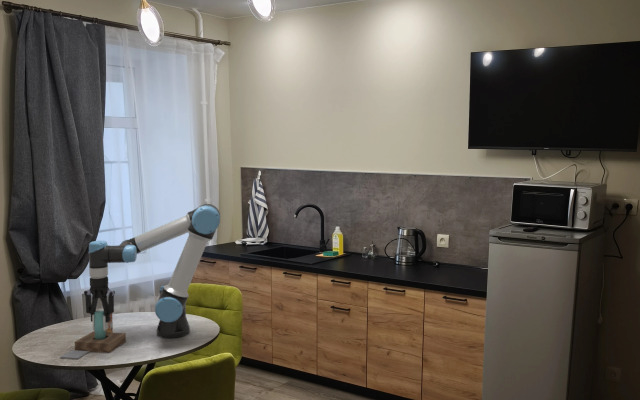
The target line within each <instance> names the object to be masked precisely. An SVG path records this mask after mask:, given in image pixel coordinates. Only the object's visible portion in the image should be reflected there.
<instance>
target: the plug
mask: <svg viewBox="0 0 640 400" xmlns="http://www.w3.org/2000/svg"><path fill="white" fill-rule="evenodd" d="M103 315H105V314H104V310H96V312H95V339H99V340H104V339H105V338H106V330H103Z"/></svg>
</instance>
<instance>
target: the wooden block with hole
mask: <svg viewBox="0 0 640 400" xmlns="http://www.w3.org/2000/svg"><path fill="white" fill-rule="evenodd" d="M125 343H127V333H125V332H113V333H112V332H106V338H105V339H104V340H99V339H95V332H94V331H91V332H89V333H87V334H85V336H84V335H83V337H81V338H79V339H77V340H76V341H74V350H76V351H89V353H105V354H110V353H112V352H114V351H115V350H116V349H117V348H119V347H120V346H122V345H124V344H125Z"/></svg>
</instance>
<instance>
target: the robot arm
mask: <svg viewBox="0 0 640 400" xmlns="http://www.w3.org/2000/svg"><path fill="white" fill-rule="evenodd" d="M220 214H221V213H220V210H219V209H218V207H216V206H215V205H214V204H210V203H204V204H201V205H199V206H198V207H196V208H195V209H193V210H191V211H188V212H187V213H186V215H184V216H182V217H180V218H177V219H175V220H173V221H172V220H171V221H170V222H168V223H165V224H162V225H160V226H157V227H155V228H153V229H151V230H148V231H146V232H144V233H142V234H138V235H137V236H134V237H132V238H130V239H125V240H123V241H122V242H120V244H119V245H108V242H107V241H106V240H95V241H91V242H90V243H89V244H88V252H87V253H88V264H89V266H88V268H89V269H88V270H89V273H88V274H89V277H90V278H89V289H86V290H84V291H83V294H84V297H85V312H86V314H90V322H92V331H94V330H95V312H96V311H97V308H98V301H99V299H100V301H101V304H102V305H101V306H102V311H104V314H105V315H103V330H107V329H108V322H109V321H110V314H112V315H113V313H115V298H114V297H115V293H116V291H115V290H110V288H109V276H108V275H109V265H108V264H115V263H117V264H119V263H122V264H124V263H125V264H128V263H135V262H136V260H137V255H138V254H140V253H142V252H145V251H147V250H149V249H152V248H154V247H156V246H159V245H161V244H163V243H166V242H169V241H170V240H174V239H176V238H178V237H181V236H182V235H185V234H188V237H187V239H186V241H185V244H184V246H183V247H182V248H183V249H182V251H181V253H180V256H179V258H178V261H177V263H176V266H175V268H174V270H173V272H172V275H171V278H170V280H169V281H168V284H164V285H160V286H159V297H158V300H157V302H156V303H155V306H154V314H155V315H156V317H157V318H158V319H159V322H158V324H157V328H156V336H157V337H160V338H163V339H176V338H181V337H184V336H187V335H189V334H190V333H191V332H190V331H191V327H190V324H189V320H188V317H187V316H186V315H187V312H186V311H187V307H186V303H187V300H188V298H189V296H190V295H189V293H188V289H189V286H190V284H191V282H192V279H193V277H194V275H195V273H196V270H197V268H198V266H199V263H200V261H201V258H202V256H203V254H204V251H205V248H206V246H207V243H208V242H210V241H213V238H214V236H215V234H216V232H217V229H218V228H219V226H220V224H221V223H220V222H221V215H220ZM189 332H190V333H189ZM188 333H189V334H188Z"/></svg>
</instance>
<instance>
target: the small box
mask: <svg viewBox="0 0 640 400" xmlns="http://www.w3.org/2000/svg"><path fill="white" fill-rule="evenodd" d="M113 326H114V325H113V313H112V314H110V321H109V322H108V329H107V330H106V332H112V333H114V330H113V329H114V328H113ZM93 332H95V330H93Z"/></svg>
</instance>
